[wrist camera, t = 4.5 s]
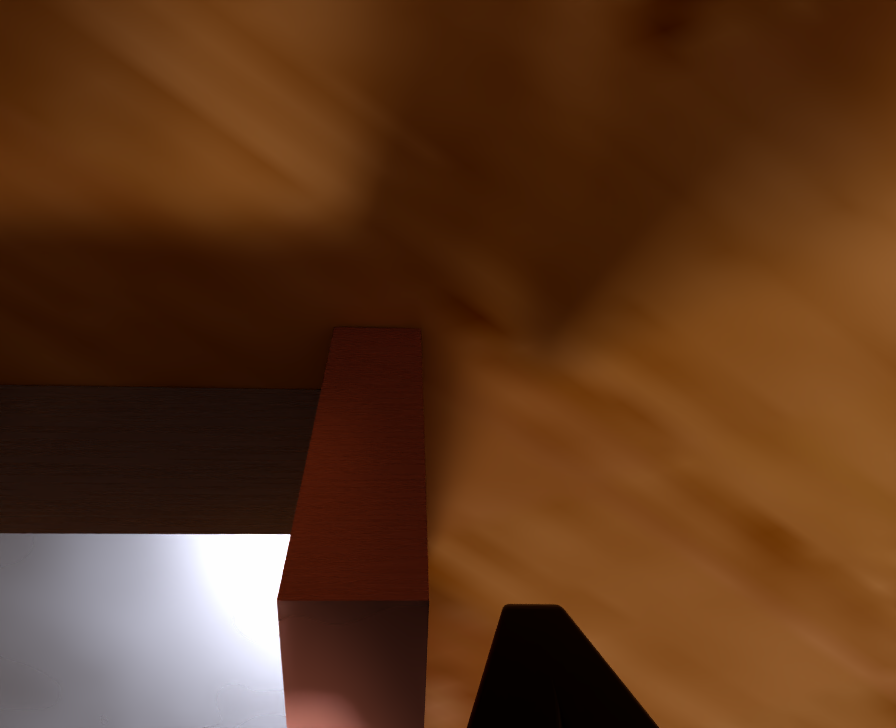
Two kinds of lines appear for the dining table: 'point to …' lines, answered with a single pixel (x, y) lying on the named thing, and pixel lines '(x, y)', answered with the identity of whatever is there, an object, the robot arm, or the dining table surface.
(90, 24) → the dining table surface
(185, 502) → the l-shaped block
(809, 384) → the dining table surface
